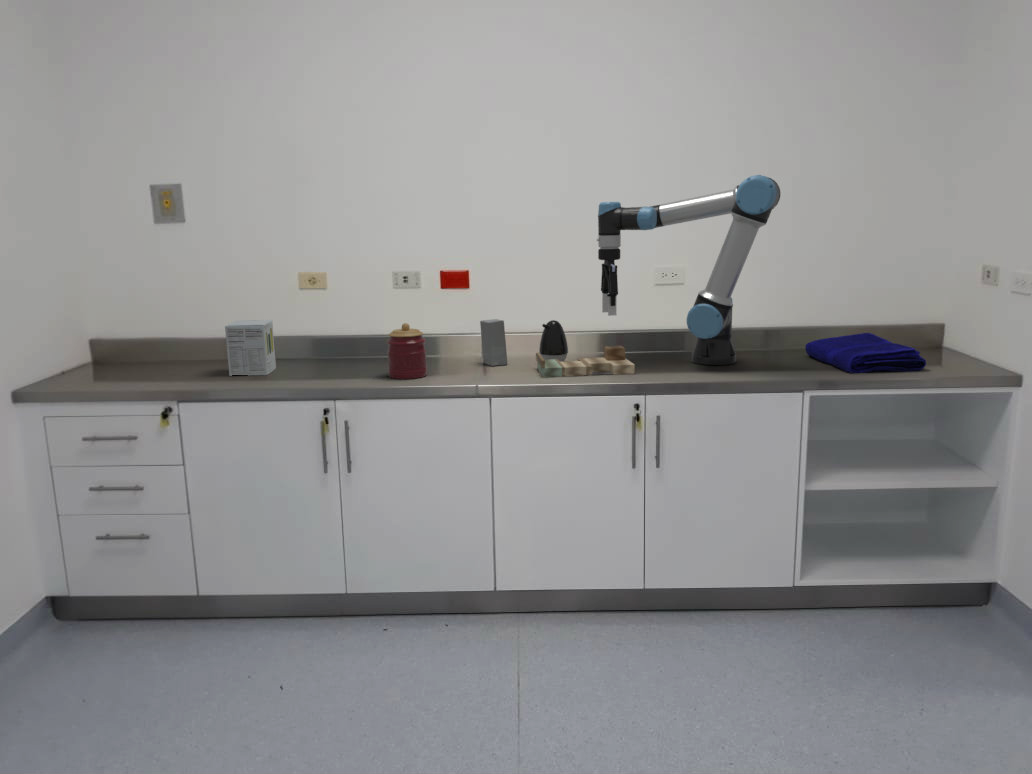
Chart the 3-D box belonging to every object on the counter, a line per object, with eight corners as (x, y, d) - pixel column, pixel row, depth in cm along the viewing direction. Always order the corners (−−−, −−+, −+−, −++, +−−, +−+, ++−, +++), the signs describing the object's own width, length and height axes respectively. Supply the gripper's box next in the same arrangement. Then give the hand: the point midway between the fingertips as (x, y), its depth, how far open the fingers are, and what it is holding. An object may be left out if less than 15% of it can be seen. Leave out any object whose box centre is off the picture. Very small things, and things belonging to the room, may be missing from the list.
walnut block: (621, 357, 284) (621, 345, 283) (625, 359, 278) (625, 348, 277) (603, 357, 283) (603, 346, 282) (607, 360, 277) (607, 348, 277)
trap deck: (623, 365, 285) (623, 349, 284) (634, 373, 269) (634, 357, 268) (536, 368, 282) (535, 352, 281) (542, 377, 267) (541, 360, 265)
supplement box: (268, 375, 281) (263, 324, 277) (228, 376, 280) (224, 325, 276) (277, 368, 294) (273, 319, 290) (239, 369, 293) (235, 320, 289)
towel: (848, 375, 261) (850, 348, 260) (801, 357, 296) (802, 332, 294) (928, 372, 263) (930, 345, 262) (871, 354, 298) (873, 330, 296)
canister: (429, 372, 280) (427, 320, 277) (424, 379, 268) (422, 325, 264) (391, 372, 281) (389, 321, 277) (385, 380, 268) (382, 326, 265)
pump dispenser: (533, 363, 293) (532, 320, 290) (553, 359, 300) (552, 317, 297) (553, 366, 285) (553, 322, 282) (574, 362, 292) (573, 319, 289)
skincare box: (507, 365, 290) (506, 320, 287) (488, 366, 287) (487, 321, 284) (499, 361, 298) (498, 317, 295) (480, 363, 295) (479, 319, 292)
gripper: (592, 247, 292) (592, 310, 296) (605, 249, 270) (605, 317, 275) (613, 246, 292) (613, 310, 297) (627, 248, 271) (627, 317, 276)
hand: (609, 313), depth 286 cm, fingers open, 9 cm apart
